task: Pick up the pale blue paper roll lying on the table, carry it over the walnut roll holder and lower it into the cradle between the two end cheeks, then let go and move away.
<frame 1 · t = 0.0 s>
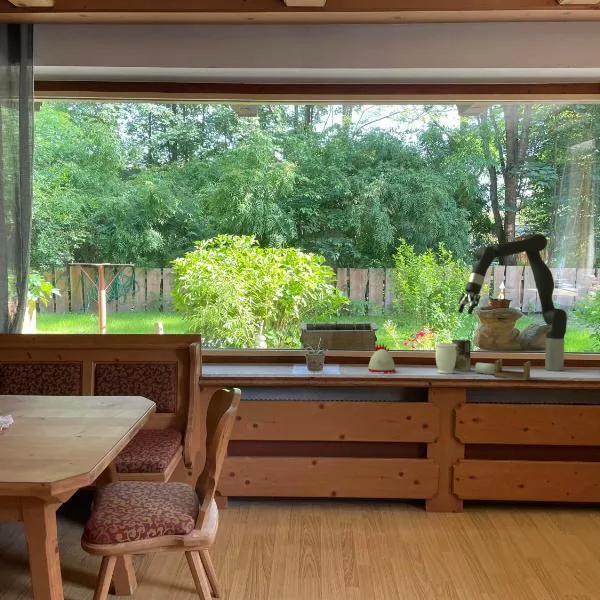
hand: (464, 313, 330), 31 cm above the shelf, tool tilted 20°, fingers open, 8 cm apart
coffee box: (460, 370, 346), on the shelf
roll: (486, 374, 334), on the shelf
holder: (512, 377, 323), on the shelf
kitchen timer: (381, 371, 340), on the shelf
jar: (445, 373, 337), on the shelf
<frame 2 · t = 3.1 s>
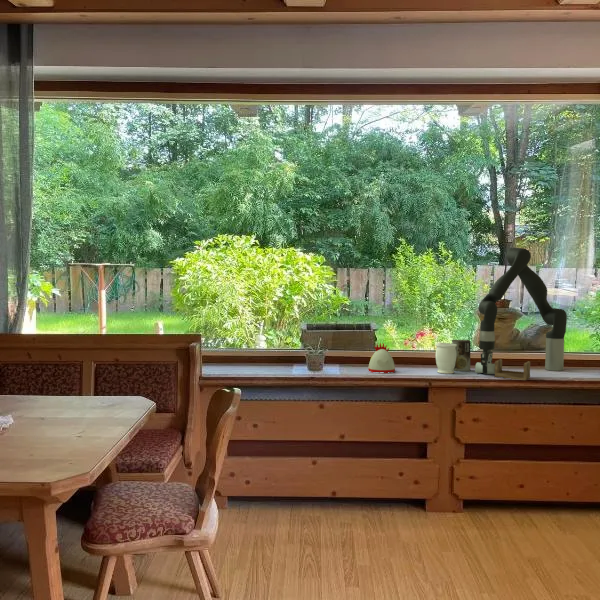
hand: (486, 372, 334), 1 cm above the shelf, tool pointing down, fingers closed on roll, 5 cm apart
roll: (486, 374, 334), on the shelf, touching gripper
everything else where it was.
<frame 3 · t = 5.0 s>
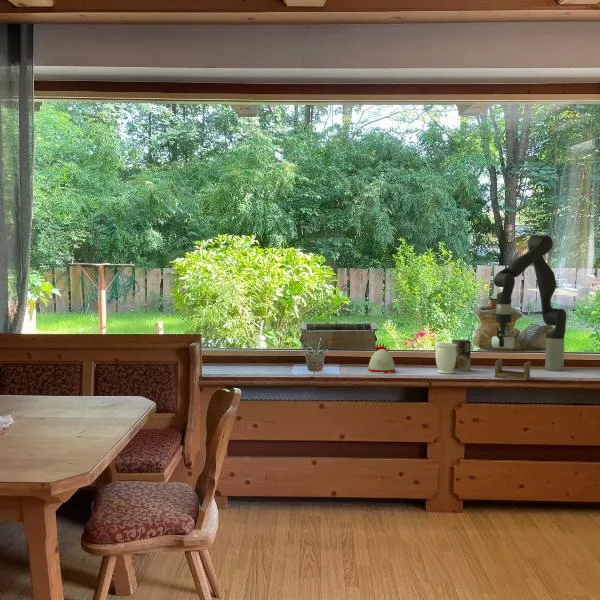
hand: (503, 346, 327), 15 cm above the shelf, tool pointing down, fingers closed on roll, 5 cm apart
roll: (503, 347, 327), point 14 cm above the shelf, touching gripper
everything else where it was.
when the fingers open (4 cm above the shelf, at t = 7.3 s): roll drops 2 cm, resting on holder.
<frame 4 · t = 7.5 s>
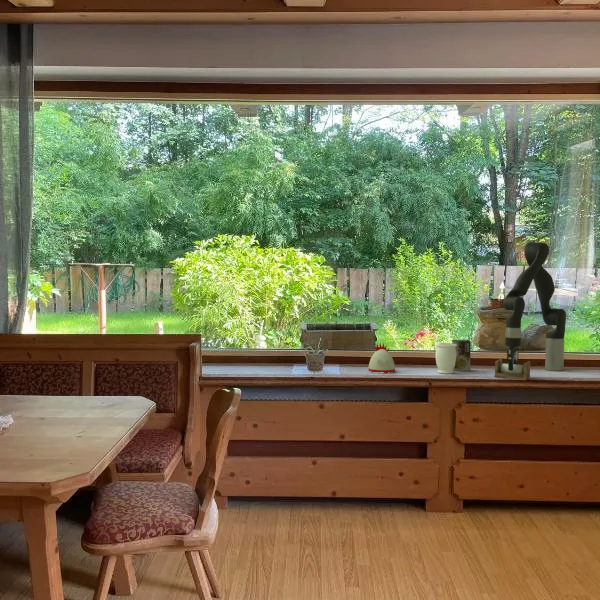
hand: (512, 369, 323), 4 cm above the shelf, tool pointing down, fingers open, 7 cm apart
roll: (512, 375, 323), point 1 cm above the shelf, touching holder
everything else where it was.
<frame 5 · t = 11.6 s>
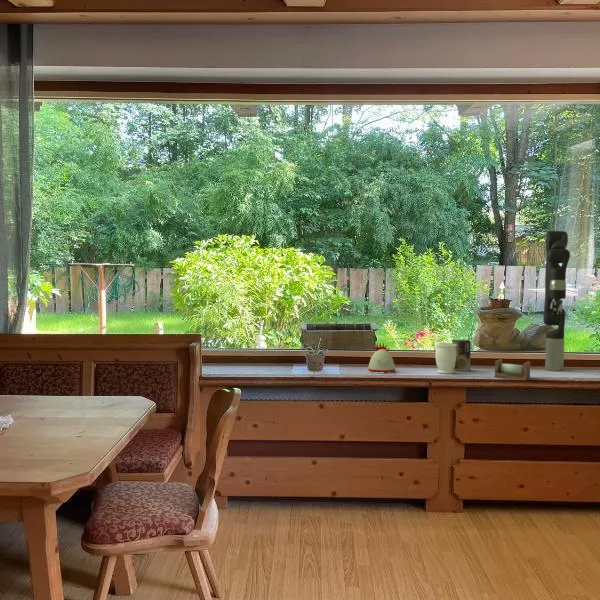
hand: (556, 321, 324), 28 cm above the shelf, tool pointing down, fingers open, 8 cm apart
nothing on the shelf moved.
at the end: roll 0.1 cm off-centre on the holder, point 1.0 cm above the holder's base; the gripper is holding nothing; roll touching holder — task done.
